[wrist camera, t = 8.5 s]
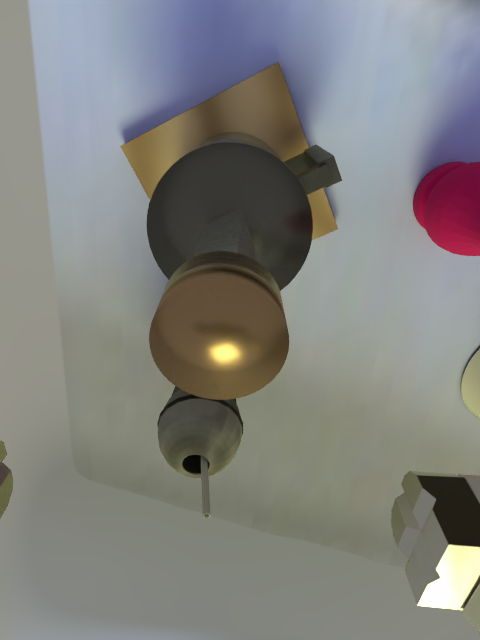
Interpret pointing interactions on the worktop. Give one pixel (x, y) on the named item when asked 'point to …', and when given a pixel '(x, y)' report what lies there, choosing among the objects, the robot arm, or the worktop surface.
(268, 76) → the plate
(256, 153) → the press
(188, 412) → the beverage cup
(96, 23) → the worktop surface
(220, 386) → the plunger
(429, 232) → the pepper mill
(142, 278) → the worktop surface
